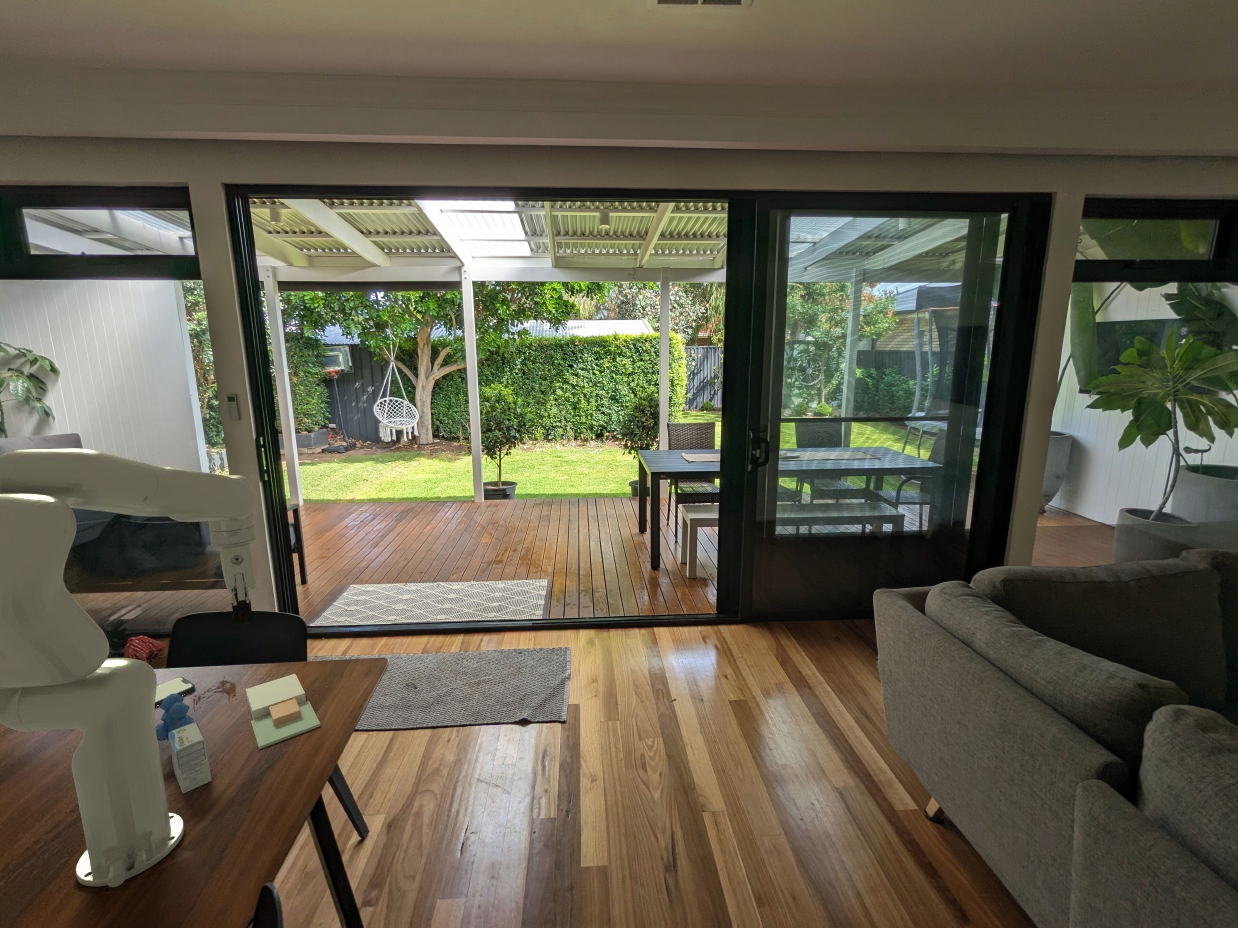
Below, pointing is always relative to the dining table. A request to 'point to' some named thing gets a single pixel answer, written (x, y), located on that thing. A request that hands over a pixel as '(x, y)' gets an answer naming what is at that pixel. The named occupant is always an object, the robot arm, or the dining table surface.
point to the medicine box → (189, 757)
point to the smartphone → (173, 689)
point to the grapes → (172, 716)
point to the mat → (284, 726)
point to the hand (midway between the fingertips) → (243, 620)
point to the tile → (284, 711)
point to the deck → (274, 694)
